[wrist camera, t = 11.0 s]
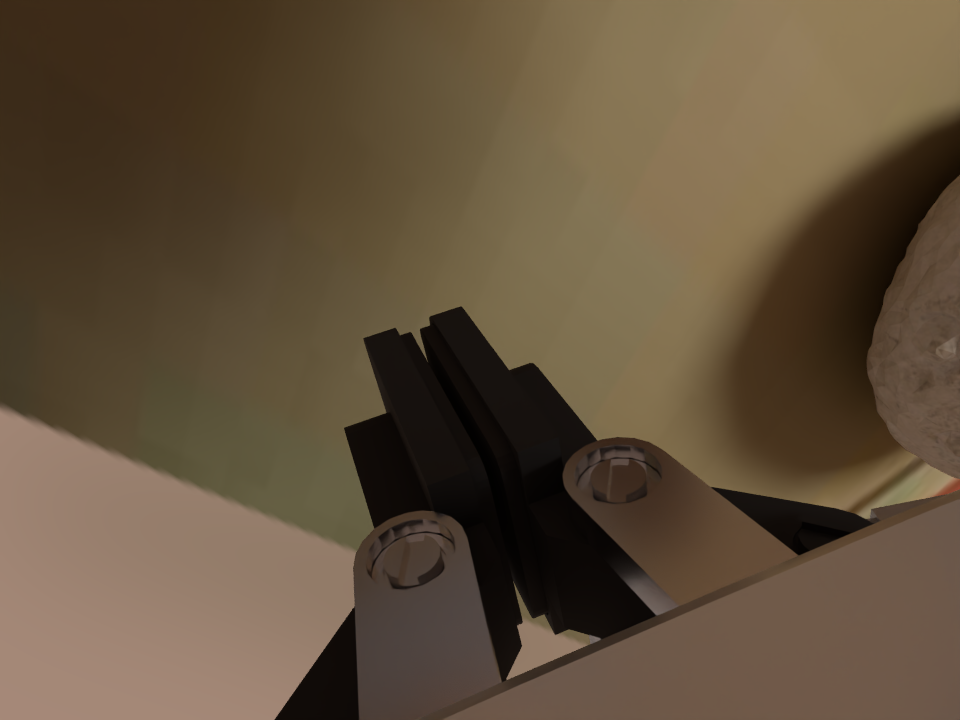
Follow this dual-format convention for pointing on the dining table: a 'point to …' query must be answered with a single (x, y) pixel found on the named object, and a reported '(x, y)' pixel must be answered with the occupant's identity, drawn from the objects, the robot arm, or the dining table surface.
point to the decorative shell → (923, 341)
